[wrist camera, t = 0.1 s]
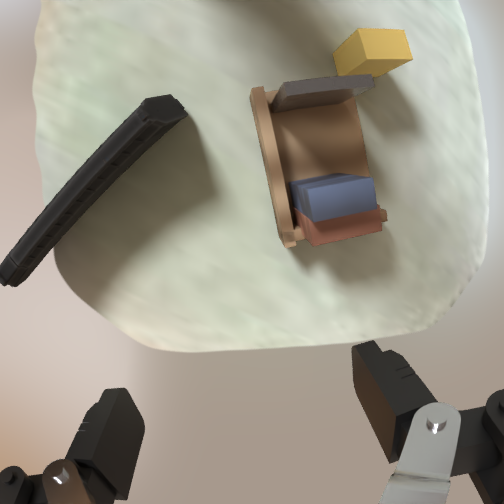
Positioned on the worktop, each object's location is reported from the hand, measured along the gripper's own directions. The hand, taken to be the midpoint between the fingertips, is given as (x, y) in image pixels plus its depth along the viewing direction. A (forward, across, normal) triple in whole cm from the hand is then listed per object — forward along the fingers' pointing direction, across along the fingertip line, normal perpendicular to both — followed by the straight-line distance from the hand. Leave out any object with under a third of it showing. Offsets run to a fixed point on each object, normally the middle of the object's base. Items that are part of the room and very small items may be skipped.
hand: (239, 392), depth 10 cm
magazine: (+29, +17, -8) cm, 35 cm away
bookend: (+28, -11, -12) cm, 32 cm away
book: (+29, -19, -17) cm, 39 cm away
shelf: (+29, -11, -6) cm, 32 cm away
